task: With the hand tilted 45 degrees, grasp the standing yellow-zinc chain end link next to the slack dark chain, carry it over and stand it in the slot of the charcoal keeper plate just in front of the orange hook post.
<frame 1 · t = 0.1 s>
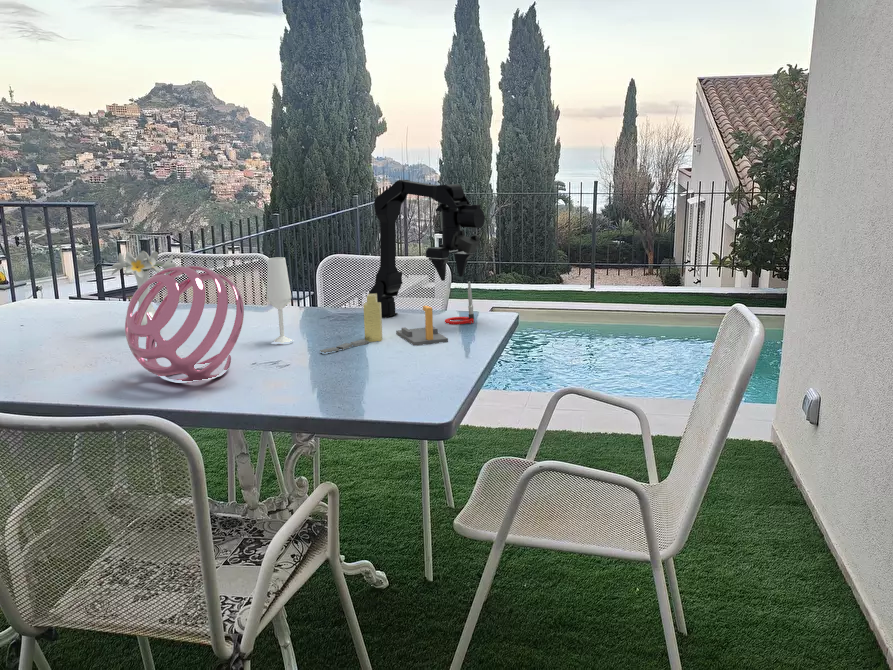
hand: (452, 278, 219), 15 cm above the table, tool pointing down, fingers open, 9 cm apart
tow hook: (459, 322, 227), on the table
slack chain: (344, 348, 197), on the table
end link: (373, 339, 206), on the table
flower vase: (149, 332, 221), on the table
keeper: (419, 336, 208), on the table
champagne flute: (282, 343, 205), on the table
pink lattice ball: (187, 379, 171), on the table
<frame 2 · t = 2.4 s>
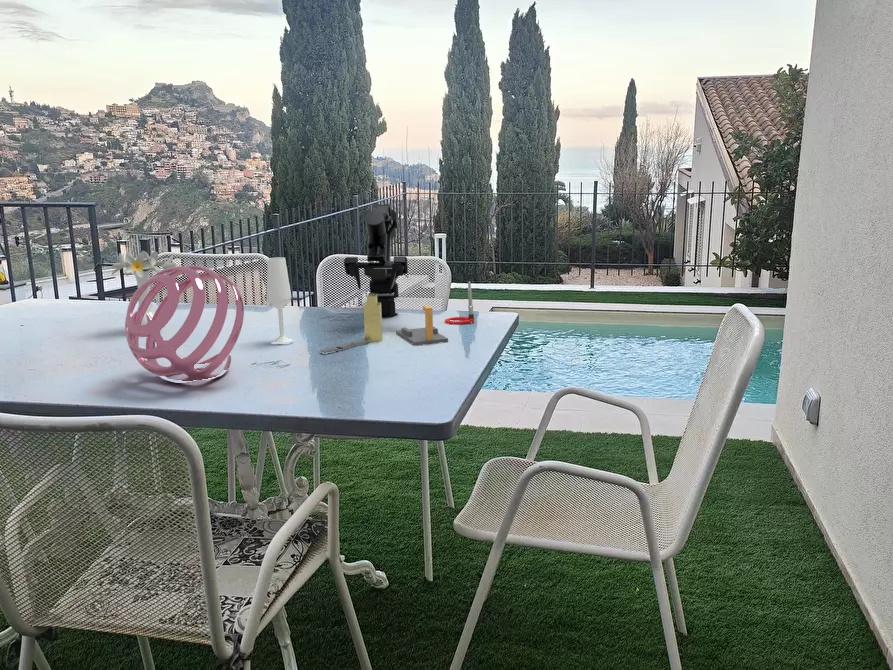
hand: (375, 288, 211), 13 cm above the table, tool tilted 45°, fingers open, 9 cm apart
nothing on the table moved.
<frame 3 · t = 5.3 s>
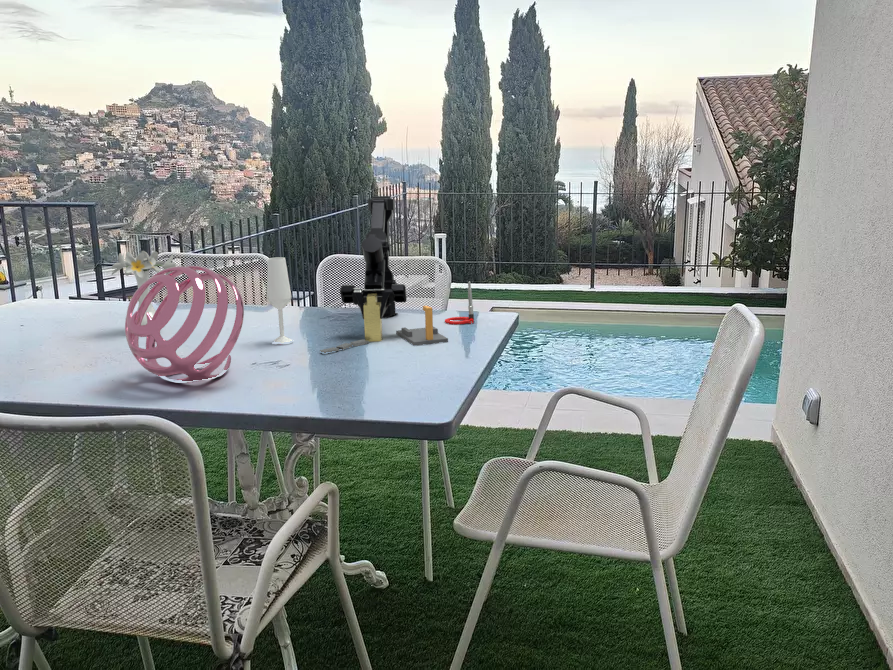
hand: (372, 318, 203), 7 cm above the table, tool tilted 45°, fingers closed on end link, 4 cm apart
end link: (373, 339, 206), on the table, touching gripper
everything else where it was.
when the fingers open (9 cm above the table, at t = 8.9 s): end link drops 1 cm, resting on keeper.
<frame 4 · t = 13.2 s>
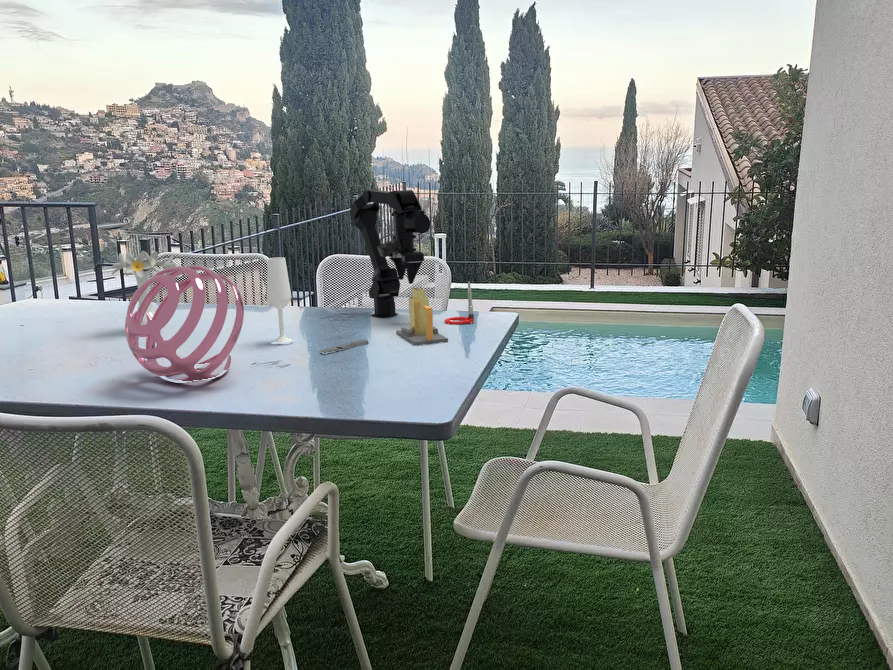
hand: (405, 281, 225), 13 cm above the table, tool pointing down, fingers open, 9 cm apart
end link: (419, 333, 208), point 1 cm above the table, touching keeper
everything else where it was.
at the end: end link inside the target area on the keeper (0.0 cm from its centre), point 1.0 cm above the keeper's base; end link tilted 0°; the gripper is holding nothing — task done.
